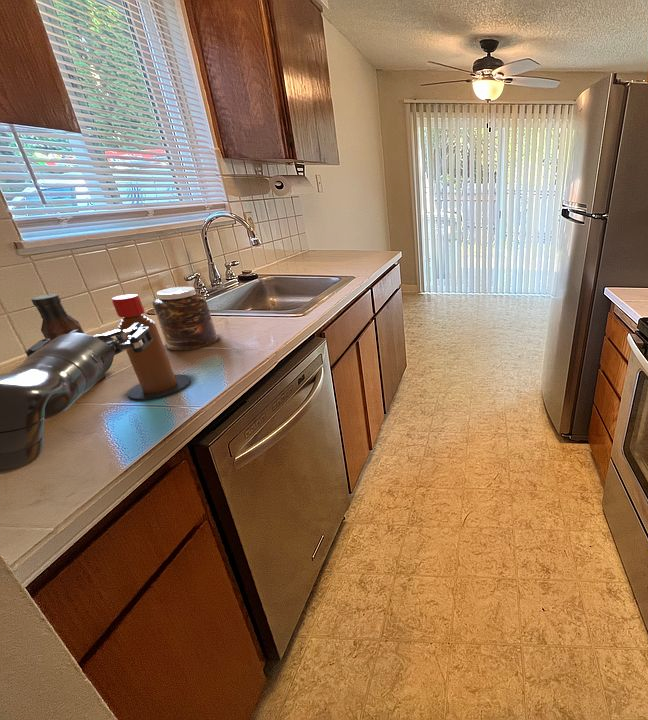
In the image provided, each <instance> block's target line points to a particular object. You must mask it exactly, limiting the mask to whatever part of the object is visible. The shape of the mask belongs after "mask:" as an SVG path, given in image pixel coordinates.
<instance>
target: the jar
mask: <svg viewBox="0 0 648 720" xmlns="http://www.w3.org/2000/svg"><path fill="white" fill-rule="evenodd" d="M156 296H157V298H156V299H155V300H153V301H152V307H153V308H152V309H153V311H154V314H155V317H156V320H157V322H158V325H159V328H160V331H161V334H162V337H163V339H164V342H165V345H166V347H167V349H169V350H171V351H190V350H191V351H192V350H195V349H196V350H197V349H200V348H204V347H207V346H209V345H212V344H214V343H216V342H217V341H218V339H219V337H218V334H217V331H216V328H215V324H214V321H213V318H212V314H211V312H210V309H209V305H208V302H207V300H206V298H205V297H206V296H204V294H201V293H198V292H197V291H196V288H195V287H193V286H176V287H169V288H164V289H160V290H157V291H156Z"/></svg>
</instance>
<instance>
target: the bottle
mask: <svg viewBox="0 0 648 720" xmlns="http://www.w3.org/2000/svg"><path fill="white" fill-rule="evenodd" d="M136 322H140V323H141V324H143V325H144V327H149V331H150V334H151V336H152V338H153V341H152V342H151V343H150V344H149V345H148V346H147V347H146V348H145V349H144V350H143V351H141V352H139V353H134V352H133V349H128V350H125V352H126V354H127V356H128V359H129V361H130V363H131V366H132V368H133V371H134V373H135V376H136V378H137V380H138V382H139V384H140V385H141V387H142V390H143V392H145V393H156V392H161V391H164V390H167V389H170V388H172V387H174V386H175V385H176V384H177V381H176V378H175V375H176V374H175V373H174V370H173V367H172V365H171V362H170V359H169V357H168V353H167V351H166V349H165V346H164V343H163V340H162V337H161V335H160V333H159V330H158V328H157V324H156V322H155V321H154V320H153V319H152V318H150V317H147V316H146V315H144V313H143V314H141V315H138V316H133V317H121V320H120V322H119V323H118V325H117V329H116V330H126V329H128V328H129V327H130V326H131V325H133V324H134V323H136ZM128 336H130V334H127V335H126V338H127V340H128Z"/></svg>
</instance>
